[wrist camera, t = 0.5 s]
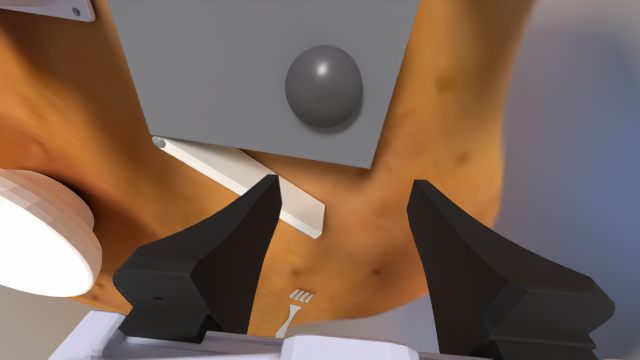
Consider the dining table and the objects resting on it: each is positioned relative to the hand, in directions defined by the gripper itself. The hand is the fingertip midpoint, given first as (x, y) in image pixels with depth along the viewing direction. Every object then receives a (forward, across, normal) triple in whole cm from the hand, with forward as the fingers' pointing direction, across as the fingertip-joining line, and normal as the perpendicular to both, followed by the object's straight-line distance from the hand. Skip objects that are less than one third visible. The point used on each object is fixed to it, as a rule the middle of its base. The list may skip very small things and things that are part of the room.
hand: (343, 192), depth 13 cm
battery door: (+9, +8, +4) cm, 13 cm away
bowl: (+9, +35, +10) cm, 37 cm away
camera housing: (+9, +5, -5) cm, 11 cm away
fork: (+10, +8, +35) cm, 38 cm away
